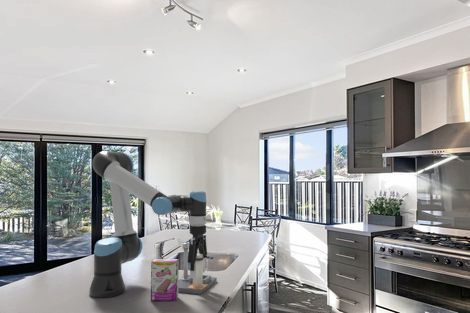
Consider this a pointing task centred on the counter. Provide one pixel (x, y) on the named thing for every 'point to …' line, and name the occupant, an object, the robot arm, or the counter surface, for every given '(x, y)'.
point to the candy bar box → (164, 279)
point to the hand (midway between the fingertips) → (197, 274)
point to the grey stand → (187, 283)
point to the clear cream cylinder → (198, 271)
